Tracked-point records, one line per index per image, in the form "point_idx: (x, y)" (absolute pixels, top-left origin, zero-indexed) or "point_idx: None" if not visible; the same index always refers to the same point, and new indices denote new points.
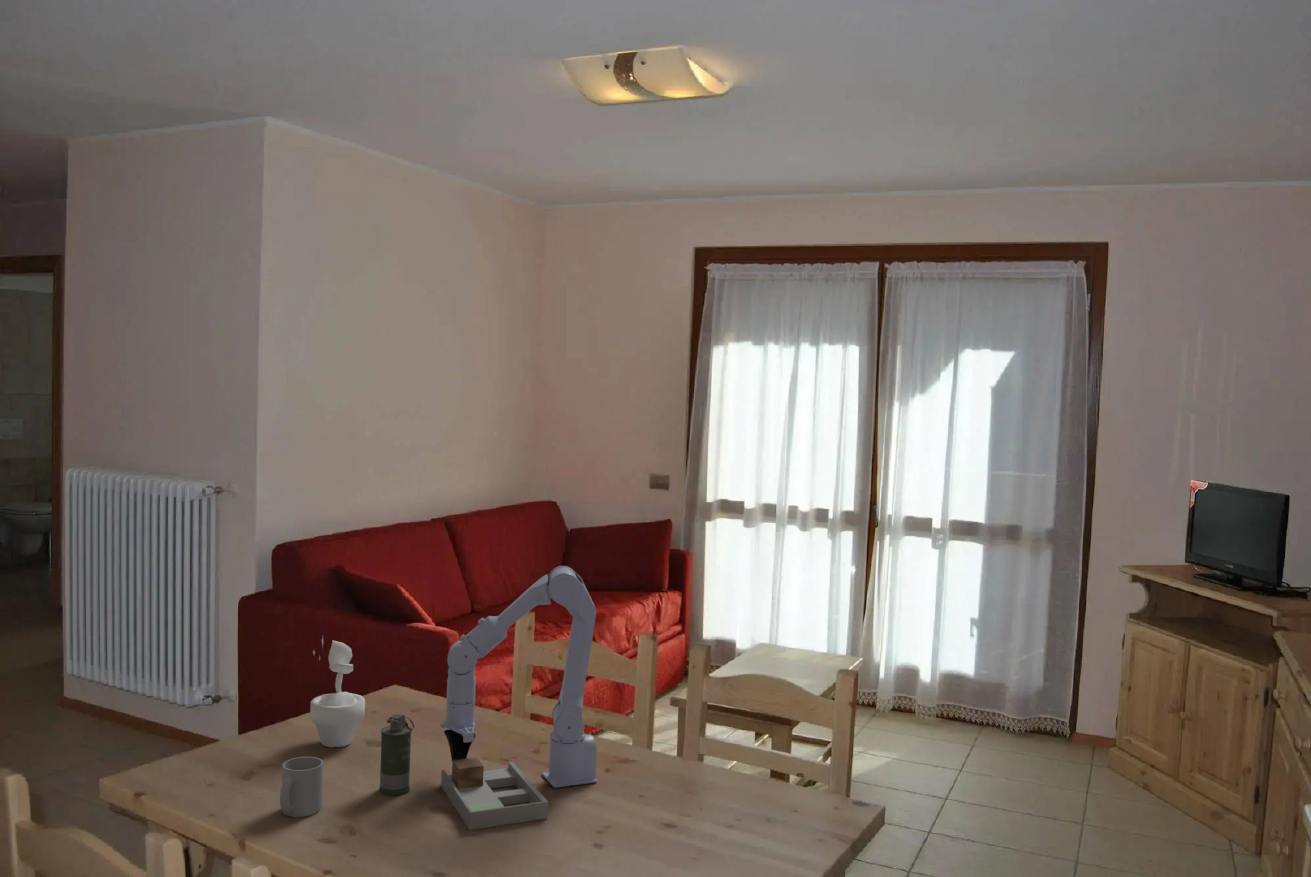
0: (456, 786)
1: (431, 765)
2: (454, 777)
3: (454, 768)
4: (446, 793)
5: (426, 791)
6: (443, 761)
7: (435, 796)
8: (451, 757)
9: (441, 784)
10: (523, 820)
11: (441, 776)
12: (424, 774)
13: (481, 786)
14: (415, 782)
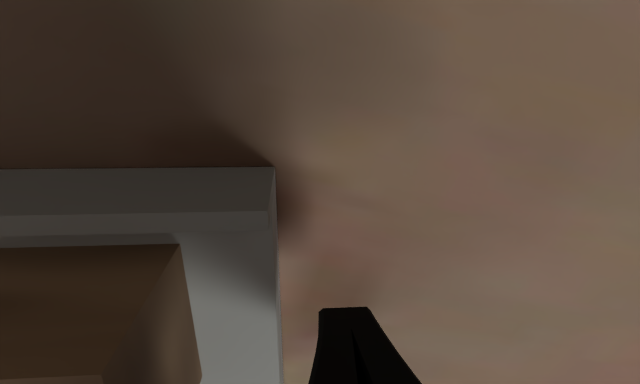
0: (32, 247)
1: (615, 184)
2: (74, 273)
3: (28, 329)
4: (123, 169)
5: (208, 50)
6: (624, 255)
7: (101, 91)
8: (385, 345)
9: (264, 171)
10: None
11: (267, 190)
12: (508, 111)
13: None
14: (402, 12)
